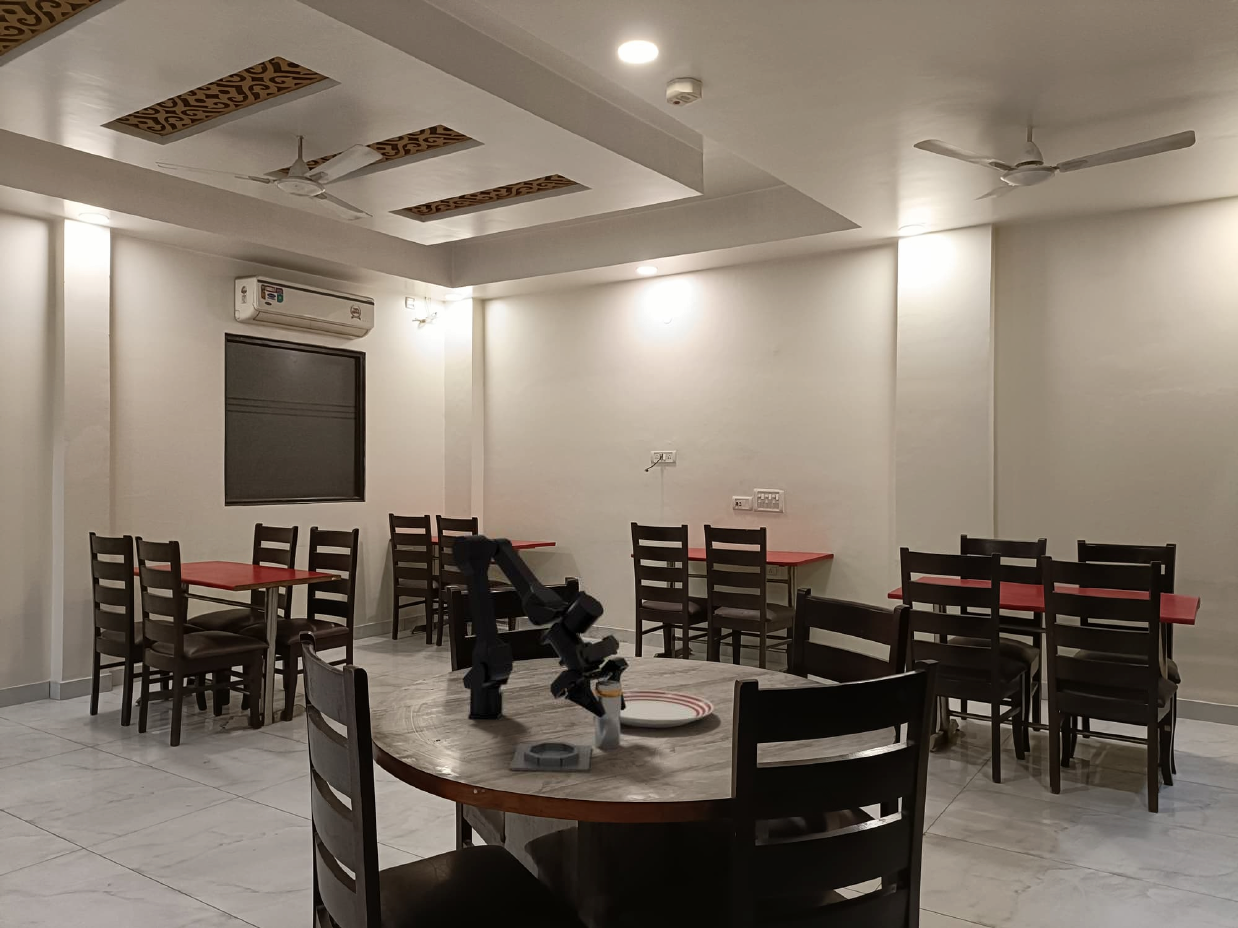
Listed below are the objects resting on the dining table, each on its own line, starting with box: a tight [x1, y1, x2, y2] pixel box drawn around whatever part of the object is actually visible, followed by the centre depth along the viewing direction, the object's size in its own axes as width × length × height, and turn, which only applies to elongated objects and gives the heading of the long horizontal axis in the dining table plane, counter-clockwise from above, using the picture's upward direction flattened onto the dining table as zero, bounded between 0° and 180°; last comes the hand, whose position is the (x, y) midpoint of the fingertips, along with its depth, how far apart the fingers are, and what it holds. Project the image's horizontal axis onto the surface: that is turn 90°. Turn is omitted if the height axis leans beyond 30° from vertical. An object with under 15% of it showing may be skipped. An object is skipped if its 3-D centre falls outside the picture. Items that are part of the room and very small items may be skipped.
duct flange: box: [508, 740, 593, 773], centre depth 167 cm, size 14×14×2 cm
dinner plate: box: [621, 689, 715, 729], centre depth 198 cm, size 28×27×3 cm
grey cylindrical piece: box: [594, 681, 623, 750], centre depth 176 cm, size 5×5×12 cm
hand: (613, 712), depth 175 cm, fingers open, 7 cm apart
